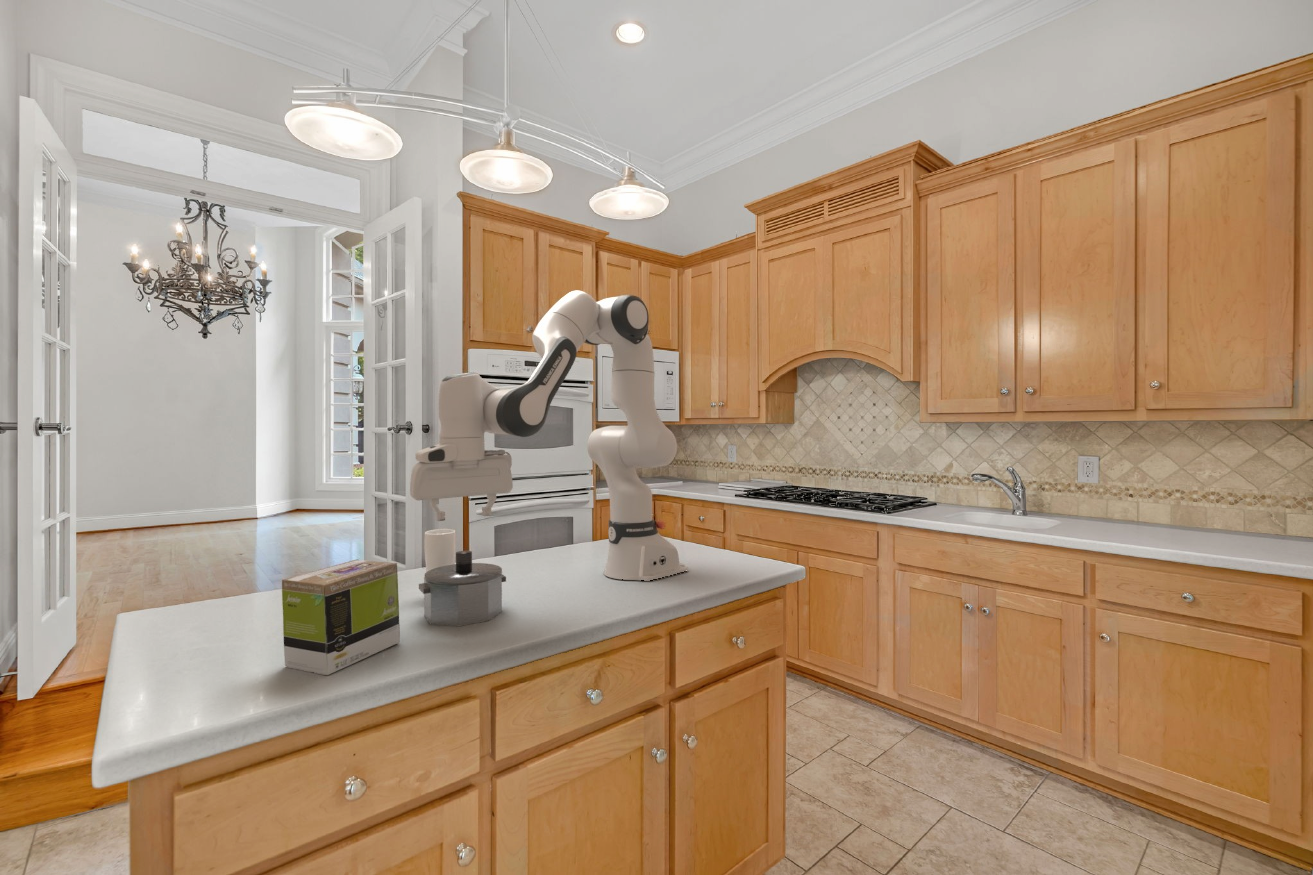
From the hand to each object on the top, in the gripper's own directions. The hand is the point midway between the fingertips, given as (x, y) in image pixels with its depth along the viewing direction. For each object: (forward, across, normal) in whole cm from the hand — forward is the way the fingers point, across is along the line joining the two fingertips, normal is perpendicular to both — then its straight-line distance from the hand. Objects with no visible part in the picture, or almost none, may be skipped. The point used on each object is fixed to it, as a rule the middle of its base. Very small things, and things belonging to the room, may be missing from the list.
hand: (464, 518), depth 122 cm
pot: (+20, +1, 0) cm, 20 cm away
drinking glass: (+20, +2, -15) cm, 25 cm away
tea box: (+20, +24, +11) cm, 33 cm away
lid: (+13, 0, 0) cm, 13 cm away
